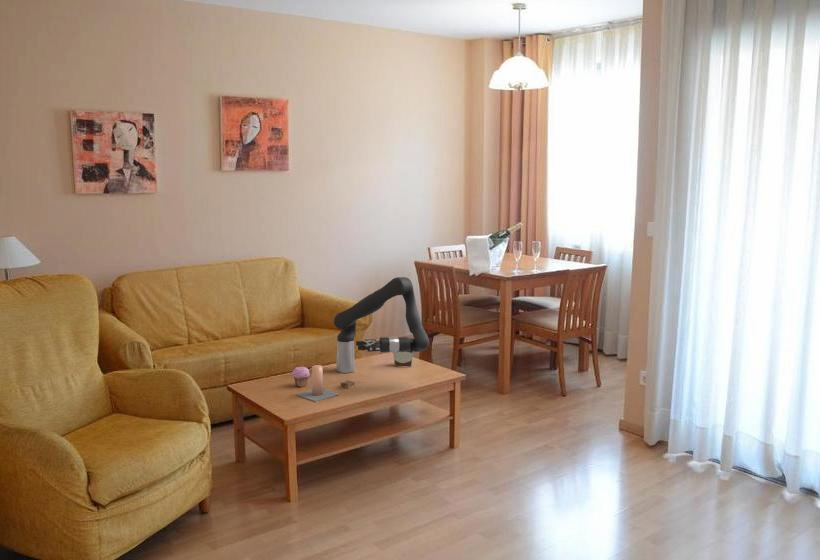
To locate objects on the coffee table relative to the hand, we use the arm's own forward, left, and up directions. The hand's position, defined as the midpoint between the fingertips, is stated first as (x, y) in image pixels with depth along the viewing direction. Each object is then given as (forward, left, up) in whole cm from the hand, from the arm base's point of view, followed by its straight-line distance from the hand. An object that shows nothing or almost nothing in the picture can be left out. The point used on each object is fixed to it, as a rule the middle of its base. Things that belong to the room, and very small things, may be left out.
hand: (357, 345), depth 363 cm
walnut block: (-10, +2, -24) cm, 26 cm away
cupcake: (-27, -14, -24) cm, 39 cm away
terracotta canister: (-9, -18, -23) cm, 30 cm away
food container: (-16, +50, -24) cm, 58 cm away
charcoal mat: (-9, -18, -23) cm, 31 cm away
